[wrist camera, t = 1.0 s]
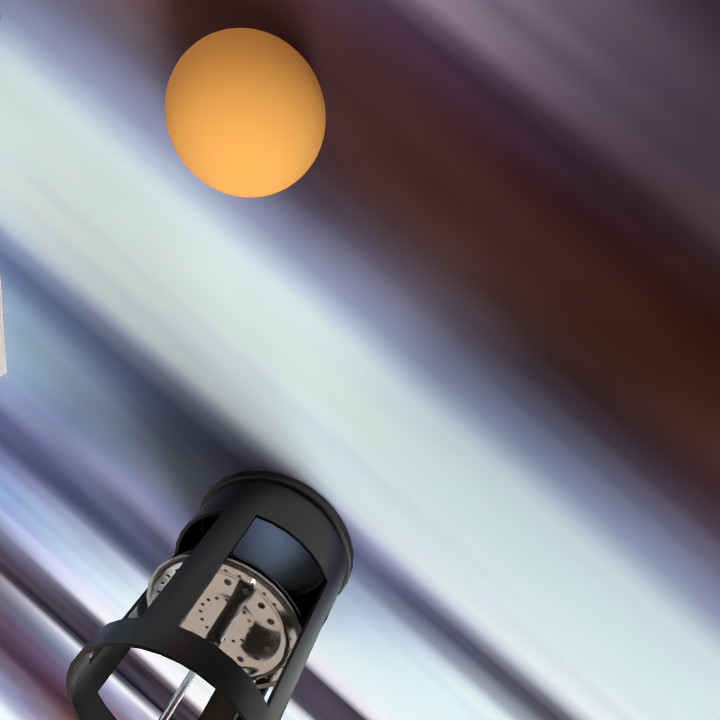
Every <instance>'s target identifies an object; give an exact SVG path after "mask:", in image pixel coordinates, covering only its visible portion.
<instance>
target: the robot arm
mask: <svg viewBox="0 0 720 720" xmlns="http://www.w3.org/2000/svg"><path fill="white" fill-rule="evenodd" d="M6 373H7V367H6V353H5V338H4V324H3V309H2V295H1V280H0V377H1V376H3V375H4V374H6Z"/></svg>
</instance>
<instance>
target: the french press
mask: <svg viewBox="0 0 720 720" xmlns="http://www.w3.org/2000/svg"><path fill="white" fill-rule="evenodd" d="M256 517H257V518H259V519H261V520H264V521H266V522H269V523H271V524H273V525H275V526H276V527H278V528H280V529H281V530H283V531H285V532H286V533H288V534H289V535H290V536H291V537H293V538H294V539H295V540H296V541H297V542H299V543H300V544H301V545H302V547H303V548H304V549H305V550H306V551H307V552H308V553H309V554H310V555H311V557H312V558H313V560H314V561H315V563H316V564H317V566H318V568H319V570H320V572H321V574H322V577H323V579H322V580H321V581H320V582H319V583H318V584H317V585H315V586H313V587H311V588H309V589H306V590H302V591H296V592H286V591H285V590H284V589H283V588H282V587H281V585H280V584H279V583H278V582H277V581H276V580H275V579H273V578H272V577H271V576H270V575H268V574H267V573H266V572H265V571H263V570H262V569H261V568H259V567H257V566H256V565H254V564H253V563H251V562H250V561H248V560H245V559H243V558H241V557H239V556H237V555H234V554H232V551H233V550H234V548H235V547H236V545H237V544H238V543H239V541H240V540H241V538H242V537H243V535H244V534H245V533H246V531H247V530H248V528H249V527H250V525H251V524H252V523H253V521H254V520H255V518H256ZM352 567H353V550H352V544H351V539H350V537H349V534H348V532H347V529H346V527H345V525H344V524H343V522H342V520H341V519H340V517H339V516H338V514H337V513H336V512H335V510H334V509H333V508H332V507H331V506H330V505H329V504H328V503H327V501H326V500H324V499H323V498H322V497H321V496H319V495H318V494H317V493H316V492H315V491H313V490H312V489H310V488H309V487H307V486H305V485H303V484H302V483H300V482H298V481H296V480H293V479H291V478H288V477H286V476H283V475H280V474H275V473H270V472H262V471H249V472H243V473H237V474H235V475H232V476H230V477H227V478H225V479H223V480H222V481H220V482H219V483H218V484H216V485H215V486H214V487H213V488H212V489H211V490H210V492H209V493H208V494H207V495H206V497H205V498H204V500H203V503H202V505H201V507H200V510H199V511H198V512H197V513H196V514H195V516H194V517H193V518H192V519H191V520H190V522H189V523H188V524H187V525H186V526H185V528H184V529H183V530H182V531H181V533H180V535H179V538H178V540H177V542H176V549H175V555H174V556H173V557H172V558H171V559H169V560H168V561H166V562H165V563H163V564H162V565H160V566H159V567H158V568H157V570H156V571H155V572H154V573H153V574H152V577H151V579H150V581H149V584H148V588H147V589H146V590H145V592H144V593H143V594H142V595H141V597H140V598H139V599H138V600H137V601H136V603H135V604H134V605H133V606H132V608H131V609H130V610H129V611H128V613H127V614H126V615H125V616H124V617H123V619H121V620H118V621H114V622H111V623H109V624H107V625H106V626H104V627H102V628H101V629H99V630H98V631H97V632H96V634H95V635H94V636H93V637H92V638H91V640H90V641H89V642H88V643H87V644H86V645H85V647H84V648H83V649H82V650H81V651H80V653H79V654H78V655H77V656H76V658H75V659H74V660H73V661H72V662H71V664H70V667H69V670H68V672H67V676H66V690H67V695H68V700H69V703H70V706H71V708H72V711H73V713H74V715H75V717H76V719H77V720H117V719H116V718H115V717H114V716H113V715H112V713H111V712H110V711H109V710H108V708H107V707H106V706H105V704H104V702H103V701H102V699H101V697H100V696H99V694H98V691H99V689H100V688H101V687H102V685H103V684H104V683H105V681H106V680H107V679H108V677H109V676H110V675H111V674H112V672H113V671H114V670H115V668H116V667H117V666H118V664H119V663H120V662H121V660H122V659H123V658H124V656H125V655H126V654H127V652H128V651H129V650H130V648H131V647H132V648H139V649H143V650H147V651H150V652H153V653H156V654H160V655H162V656H164V657H166V658H169V659H171V660H173V661H175V662H177V663H180V664H181V665H183V666H184V667H186V668H188V669H189V670H190V671H189V672H188V674H187V675H186V677H185V679H184V680H183V682H182V683H181V685H180V687H179V688H178V690H177V691H176V693H175V694H174V696H173V698H172V699H171V701H170V702H169V704H168V706H167V707H166V709H165V710H164V712H163V713H162V715H161V717H160V718H159V720H169V718H170V717H171V715H172V713H173V712H174V710H175V708H176V707H177V705H178V704H179V702H180V700H181V699H182V697H183V696H184V694H185V692H186V691H187V689H188V687H189V686H190V684H191V683H192V681H193V679H194V678H195V676H196V674H197V675H199V676H200V677H202V678H203V679H204V680H205V681H207V682H208V683H209V684H210V685H212V686H213V687H214V688H215V691H214V693H213V695H212V696H211V698H210V700H209V702H208V703H207V705H206V707H205V709H204V710H203V712H202V714H201V716H200V717H199V719H198V720H281V717H282V715H283V713H284V711H285V708H286V706H287V704H288V702H289V699H290V697H291V695H292V693H293V690H294V688H295V686H296V684H297V681H298V679H299V677H300V675H301V672H302V670H303V668H304V666H305V663H306V661H307V659H308V657H309V654H310V652H311V650H312V648H313V646H314V643H315V641H316V639H317V637H318V634H319V632H320V630H321V628H322V626H323V624H324V623H325V621H326V620H327V617H328V615H329V613H330V611H331V608H332V606H333V604H334V602H335V599H336V597H337V596H338V595H339V594H340V593H341V591H342V590H343V588H344V587H345V585H346V584H347V582H348V580H349V577H350V574H351V571H352ZM96 649H97V651H96V652H95V653H94V654H93V656H92V657H91V658H90V652H91V651H92V650H96ZM272 686H274V688H273V690H272V692H271V694H270V696H269V699H268V701H267V703H266V702H265V700H264V697H265V695H266V693H267V691H268V689H269V687H272Z"/></svg>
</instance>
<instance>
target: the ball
mask: <svg viewBox="0 0 720 720" xmlns="http://www.w3.org/2000/svg"><path fill="white" fill-rule="evenodd" d="M165 119H166V126H167V130H168V133H169V137H170V139H171V142H172V144H173V147H174V149H175V151H176V152H177V154H178V156H179V157H180V159H181V160H182V162H183V163H184V164H185V166H186V167H187V168H188V169H189V170H190V171H191V172H192V173H193V174H194V175H195V176H196V177H197V178H199V179H200V180H201V181H202V182H204V183H205V184H207V185H208V186H210V187H212V188H214V189H216V190H218V191H220V192H223V193H226V194H229V195H233V196H239V197H262V196H267V195H271V194H274V193H277V192H279V191H282V190H284V189H286V188H287V187H289V186H290V185H292V184H293V183H295V182H296V181H297V180H299V179H300V178H301V177H302V176H303V175H304V174H305V173H306V171H307V170H308V169H309V168H310V166H311V165H312V163H313V162H314V160H315V159H316V157H317V155H318V152H319V150H320V148H321V145H322V141H323V138H324V132H325V122H326V113H325V103H324V98H323V94H322V91H321V88H320V85H319V83H318V80H317V78H316V76H315V74H314V72H313V71H312V69H311V67H310V66H309V64H308V63H307V62H306V60H305V59H304V58H303V57H302V56H301V55H300V54H299V53H298V52H297V51H296V50H295V49H294V48H293V47H291V46H290V45H289V44H288V43H286V42H285V41H283V40H282V39H280V38H278V37H276V36H274V35H272V34H269V33H267V32H264V31H260V30H256V29H251V28H231V29H225V30H221V31H217V32H215V33H212V34H210V35H208V36H205V37H203V38H202V39H200V40H199V41H197V42H196V43H195V44H194V45H192V46H191V47H190V48H189V49H188V50H187V51H186V52H185V53H184V54H183V56H182V57H181V58H180V59H179V61H178V63H177V64H176V66H175V68H174V70H173V72H172V74H171V76H170V79H169V82H168V85H167V89H166V95H165Z"/></svg>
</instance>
